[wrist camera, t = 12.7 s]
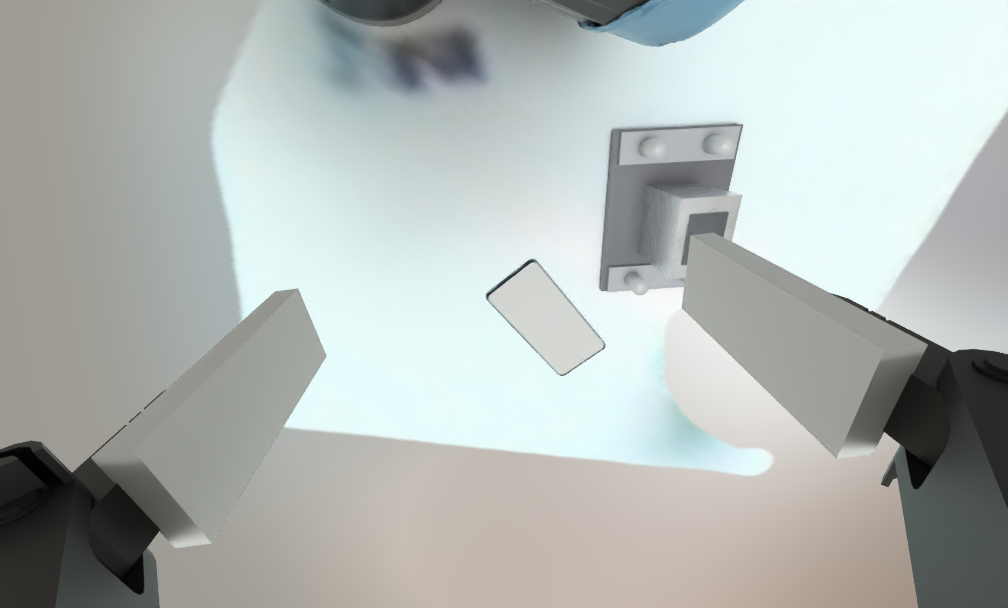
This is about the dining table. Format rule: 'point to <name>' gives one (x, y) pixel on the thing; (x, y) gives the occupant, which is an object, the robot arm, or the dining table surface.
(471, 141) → the dining table surface
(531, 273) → the smartphone
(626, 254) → the grey knobbed plate
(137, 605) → the robot arm
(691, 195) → the block
